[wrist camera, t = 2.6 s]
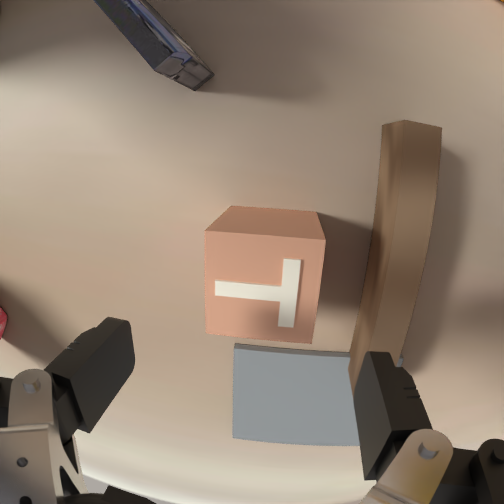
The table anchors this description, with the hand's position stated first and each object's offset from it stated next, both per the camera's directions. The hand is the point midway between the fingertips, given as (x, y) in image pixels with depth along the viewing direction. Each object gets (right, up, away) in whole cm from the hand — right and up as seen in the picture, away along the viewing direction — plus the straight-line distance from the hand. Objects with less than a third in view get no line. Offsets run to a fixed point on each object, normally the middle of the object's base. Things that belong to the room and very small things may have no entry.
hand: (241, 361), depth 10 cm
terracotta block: (+2, +4, +10) cm, 10 cm away
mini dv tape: (-5, +17, +6) cm, 19 cm away
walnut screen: (+8, +3, +9) cm, 12 cm away
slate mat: (+5, -8, +13) cm, 16 cm away
